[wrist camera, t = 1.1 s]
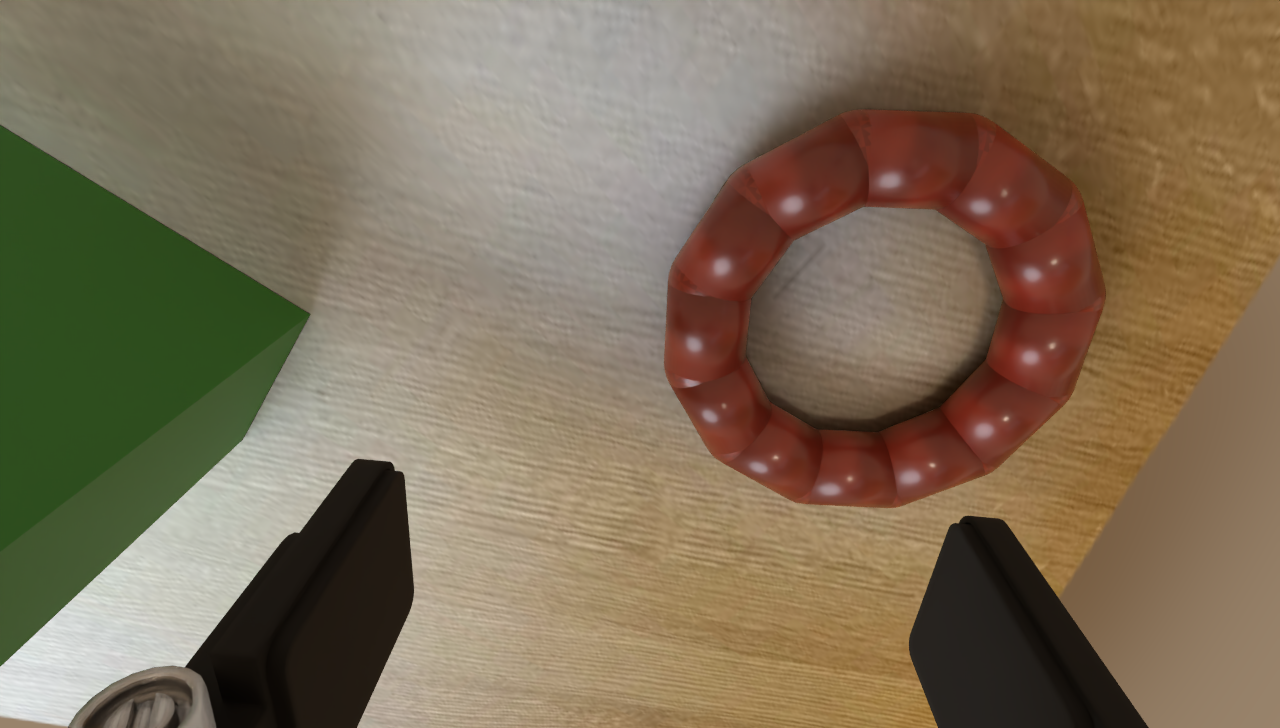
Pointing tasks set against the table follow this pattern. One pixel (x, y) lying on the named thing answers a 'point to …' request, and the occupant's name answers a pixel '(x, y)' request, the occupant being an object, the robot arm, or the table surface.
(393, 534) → the robot arm
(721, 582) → the table surface
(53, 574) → the hardback book
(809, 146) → the ring
